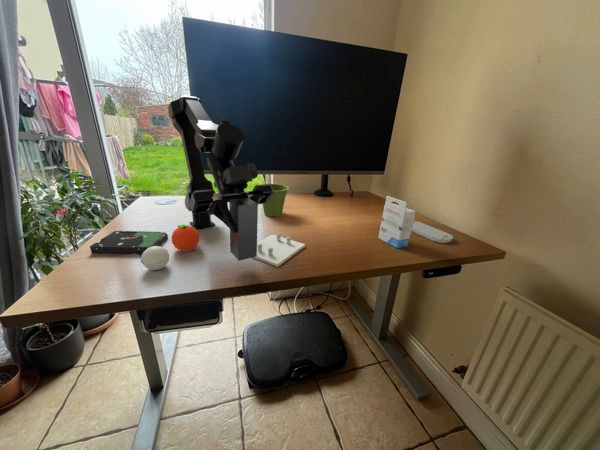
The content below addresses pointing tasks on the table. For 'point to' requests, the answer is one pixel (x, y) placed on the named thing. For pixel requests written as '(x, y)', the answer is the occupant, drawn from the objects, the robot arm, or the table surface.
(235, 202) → the grey metal block
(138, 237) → the disk drive
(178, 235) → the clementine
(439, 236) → the game console
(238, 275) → the table surface
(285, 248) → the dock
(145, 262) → the white egg
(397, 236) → the ink box
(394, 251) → the table surface
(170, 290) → the table surface
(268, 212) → the plant pot
